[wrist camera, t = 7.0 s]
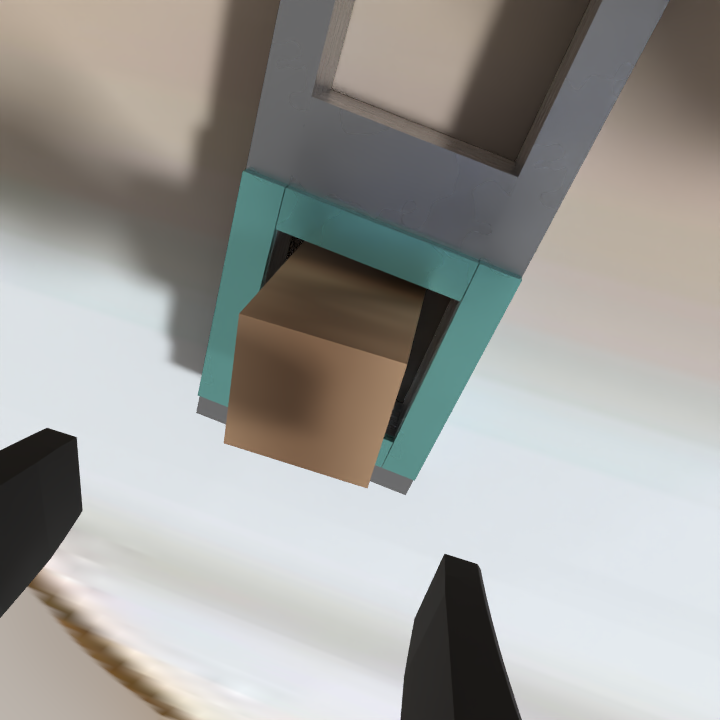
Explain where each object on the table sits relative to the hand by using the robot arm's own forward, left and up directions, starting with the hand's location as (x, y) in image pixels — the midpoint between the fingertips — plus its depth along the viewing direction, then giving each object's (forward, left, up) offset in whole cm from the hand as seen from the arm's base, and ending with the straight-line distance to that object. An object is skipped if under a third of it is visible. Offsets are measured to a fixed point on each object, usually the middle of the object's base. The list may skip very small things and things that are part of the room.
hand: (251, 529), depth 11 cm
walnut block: (0, 0, -10) cm, 10 cm away
